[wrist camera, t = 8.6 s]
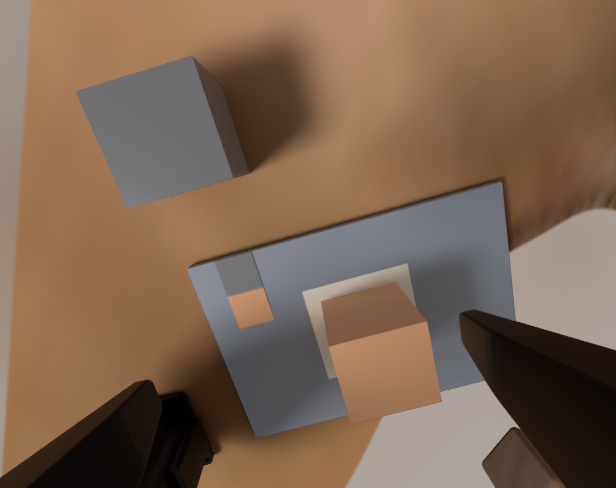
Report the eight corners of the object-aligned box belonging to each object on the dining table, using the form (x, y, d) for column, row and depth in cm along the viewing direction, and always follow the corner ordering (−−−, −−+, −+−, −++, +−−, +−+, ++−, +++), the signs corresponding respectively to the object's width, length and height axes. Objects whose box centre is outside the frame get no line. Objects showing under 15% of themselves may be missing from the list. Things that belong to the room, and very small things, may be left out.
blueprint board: (257, 431, 23) (256, 439, 23) (190, 266, 20) (186, 269, 19) (514, 366, 23) (521, 371, 22) (495, 181, 19) (502, 181, 18)
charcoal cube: (171, 196, 19) (127, 208, 14) (137, 110, 17) (75, 91, 12) (250, 173, 18) (233, 178, 14) (221, 85, 17) (191, 55, 12)
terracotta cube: (338, 364, 21) (351, 424, 16) (320, 301, 20) (328, 346, 15) (408, 346, 21) (441, 401, 16) (395, 281, 20) (427, 321, 15)
